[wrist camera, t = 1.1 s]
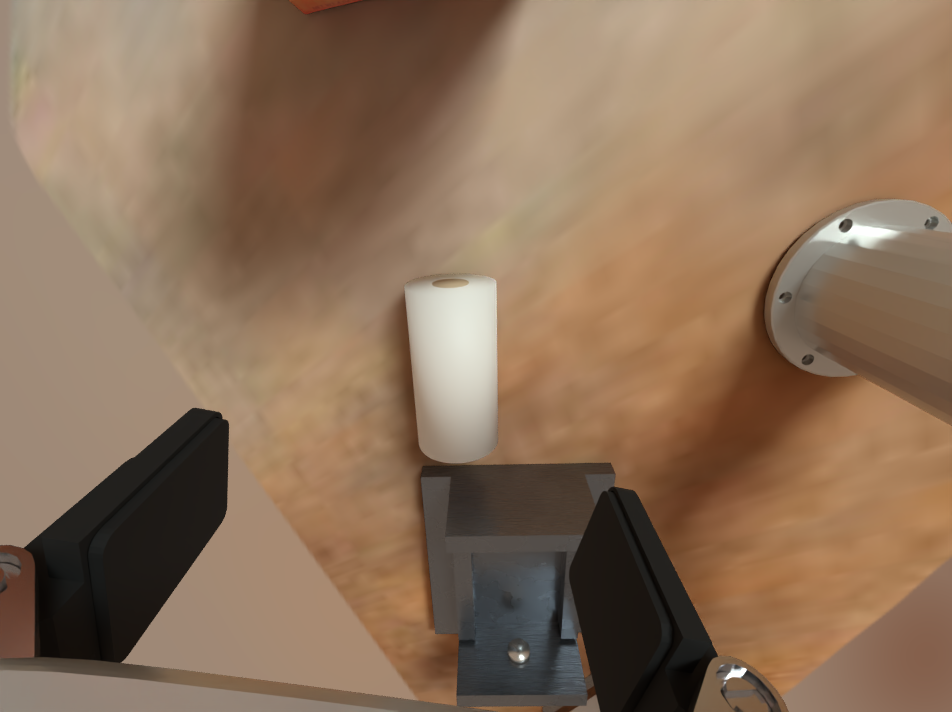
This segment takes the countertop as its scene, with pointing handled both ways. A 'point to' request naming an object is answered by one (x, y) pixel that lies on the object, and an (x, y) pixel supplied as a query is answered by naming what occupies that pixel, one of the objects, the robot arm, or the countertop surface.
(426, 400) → the kitchen roll
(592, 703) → the white stand
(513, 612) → the roll holder
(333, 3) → the cracker box
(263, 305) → the countertop surface
